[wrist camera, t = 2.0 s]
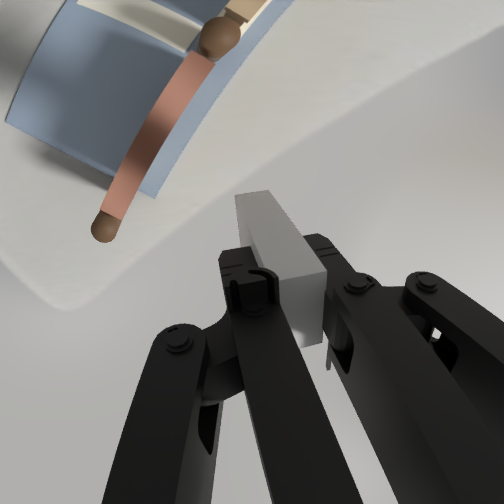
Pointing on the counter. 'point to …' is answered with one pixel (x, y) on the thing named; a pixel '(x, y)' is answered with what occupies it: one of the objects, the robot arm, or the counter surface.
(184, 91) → the swing panel
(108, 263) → the counter surface
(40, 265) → the counter surface
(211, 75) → the card
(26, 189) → the counter surface
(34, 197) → the counter surface
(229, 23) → the brown wall panel
